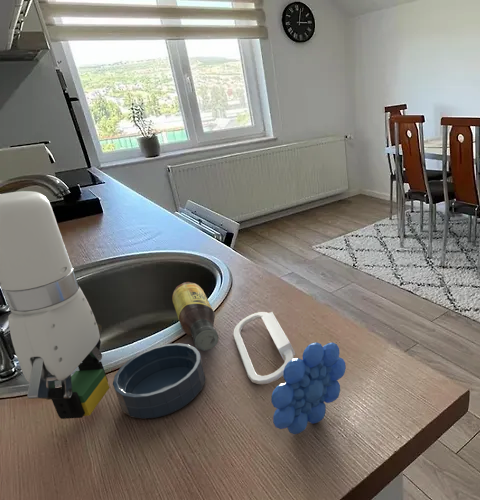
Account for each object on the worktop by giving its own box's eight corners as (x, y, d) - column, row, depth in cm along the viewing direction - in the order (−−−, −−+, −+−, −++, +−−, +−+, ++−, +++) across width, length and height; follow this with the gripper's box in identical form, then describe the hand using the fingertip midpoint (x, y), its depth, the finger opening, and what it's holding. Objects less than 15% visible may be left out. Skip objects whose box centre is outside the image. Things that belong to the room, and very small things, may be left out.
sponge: (60, 417, 57) (52, 397, 56) (83, 389, 63) (76, 370, 61) (89, 415, 57) (82, 396, 56) (109, 387, 63) (103, 368, 61)
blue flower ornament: (329, 384, 63) (321, 317, 58) (359, 408, 58) (352, 336, 53) (261, 427, 56) (246, 354, 51) (288, 458, 51) (274, 380, 46)
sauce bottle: (208, 292, 89) (235, 339, 73) (185, 312, 88) (208, 364, 72) (187, 273, 85) (210, 318, 69) (162, 294, 84) (181, 345, 68)
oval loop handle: (234, 334, 80) (225, 319, 78) (272, 313, 82) (264, 299, 80) (258, 400, 63) (248, 383, 61) (306, 372, 65) (297, 355, 63)
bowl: (106, 425, 58) (96, 400, 57) (142, 368, 70) (135, 346, 68) (192, 417, 59) (185, 392, 57) (215, 362, 70) (209, 340, 68)
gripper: (54, 263, 61) (91, 363, 68) (-43, 330, 45) (17, 451, 52) (106, 260, 61) (137, 360, 68) (27, 325, 45) (78, 447, 52)
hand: (85, 399), depth 60 cm, fingers closed on sponge, 5 cm apart
